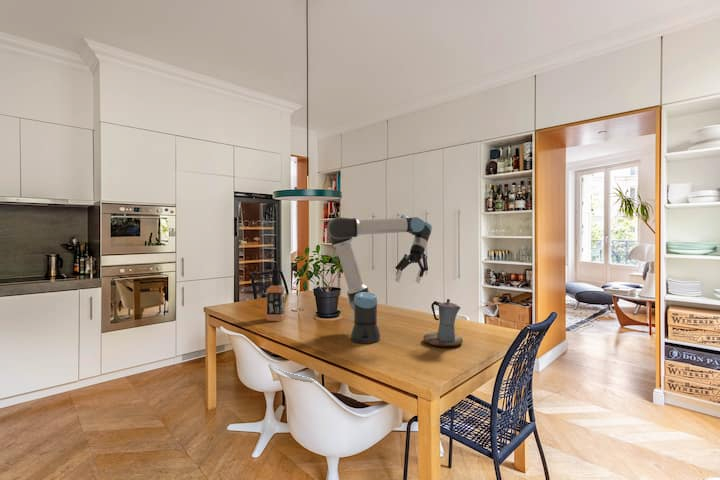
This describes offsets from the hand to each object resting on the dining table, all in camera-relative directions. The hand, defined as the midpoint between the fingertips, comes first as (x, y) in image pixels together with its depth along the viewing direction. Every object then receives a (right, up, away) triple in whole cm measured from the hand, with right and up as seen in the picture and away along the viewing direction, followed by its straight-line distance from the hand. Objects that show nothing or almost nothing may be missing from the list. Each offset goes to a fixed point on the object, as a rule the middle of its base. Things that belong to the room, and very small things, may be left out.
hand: (406, 281), depth 197 cm
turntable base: (+17, -29, -10) cm, 35 cm away
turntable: (+17, -28, -10) cm, 34 cm away
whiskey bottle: (-77, -28, +38) cm, 91 cm away
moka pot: (+17, -27, -14) cm, 35 cm away
